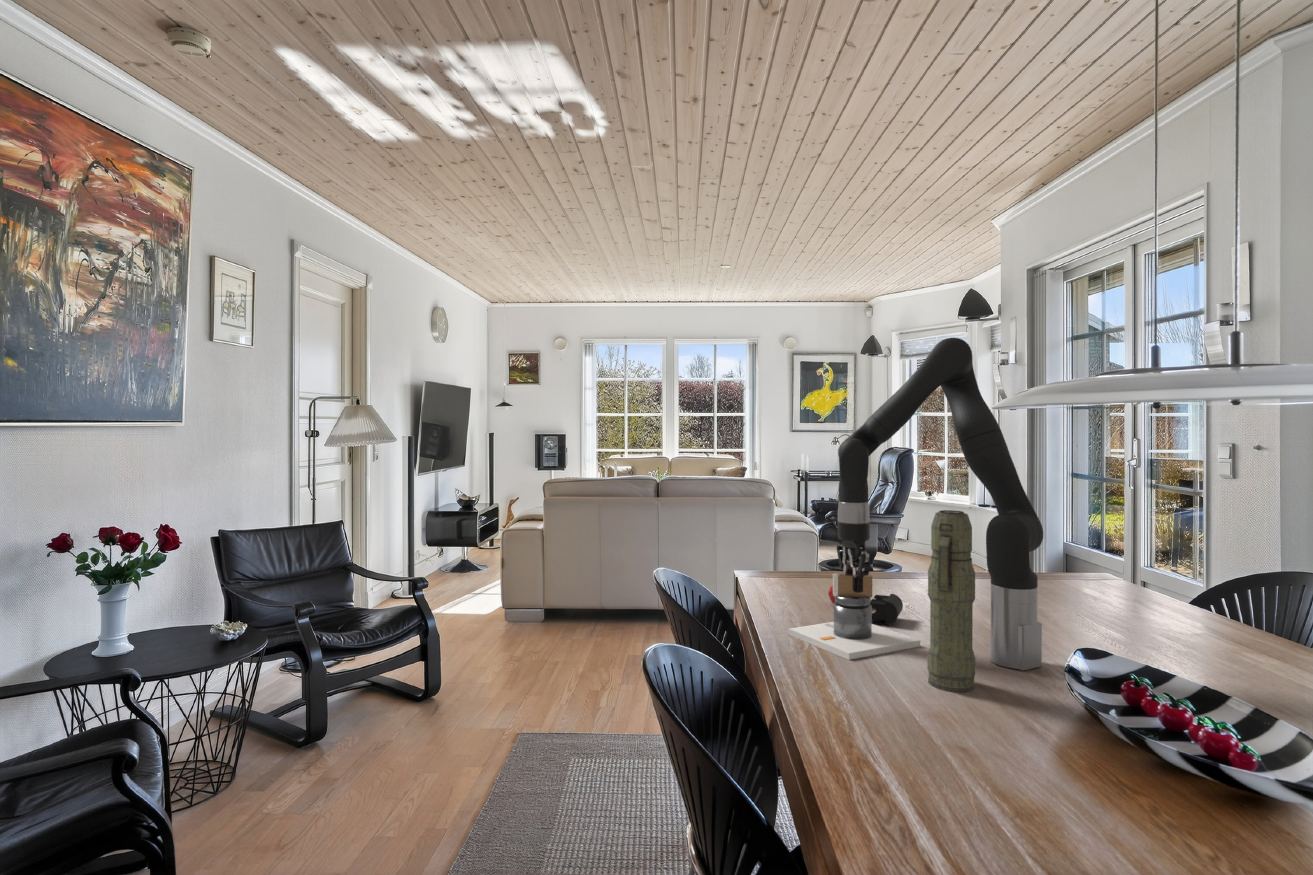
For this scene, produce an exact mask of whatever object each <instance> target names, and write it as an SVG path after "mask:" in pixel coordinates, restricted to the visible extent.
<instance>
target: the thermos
mask: <svg viewBox="0 0 1313 875" xmlns="http://www.w3.org/2000/svg"><path fill="white" fill-rule="evenodd" d="M930 529H931V530H930V533H931V535H930V536H931V540H930V543H931V544H930V546H931V548H930V549H931V552H932V554H931V557H930V558H931V559H930V564H929V566H928V569H927V596H928V598H929V600H930V603H929V604H930V606H929V607H930V609H929V610H930V611H929V613H930V615H929V617H930V618H929V619H930V621H929V622H930V626H929V627H930V628H929V629H930V630H929V632H930V633H929V634H930V636H929V638H930V639H929V641H930V644H929V645H930V647H929V649H928V652H927V654H926V656H927V657H926V658H927V660H926V661H927V662H926V665H927V667H926V668H927V671H928V678H927V680H928V684H929V685H930V686H932V687H934V688H936V689H938V690H943V691H946V692H952V693H953V692H955V693H966V692H972V691H973V690H974V689H975V676H976V657H975V656H976V655H975V651H974V649H973V624H974V623H973V622H974V621H973V613H974V612H973V605H974V604H973V603H975V600H976V572H975V568H974V566H973V558H972V552H973V526H972V523H971V519H970V517H969V514H968V513H966V512H964V511H963V510H954V509H953V510H951V509H948V510H946V509H945V510H938V512H935V514H934V517H933V519H932V523H931V527H930Z"/></svg>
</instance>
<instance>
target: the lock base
mask: <svg viewBox="0 0 1313 875" xmlns="http://www.w3.org/2000/svg"><path fill="white" fill-rule="evenodd" d="M872 613H873V609H872V606H871V605H870V606H869V607H865V608H848V607H842V606H839V605H836V604H835V603H834V604H833V621H829V622H823V623H817V624H812V625H806V626H799V627H798V626H797V627H792V628H788V636H791V637H794V638H795V639H797V640H800V641H802V642H805V643H807V644H809V645H812V646H815V647H817V648H819V649H820V650H821V649H822V650H823V651H826V652H829V653H832V654H833V655H836V656H838V657H841V658H844V659H845V660H847V661H851V660H856V659H861V658H866V657H872V656H878V655H883V654H888V653H893V652H898V651H899V652H900V651H902V650H903V651H904V650H907V649H914V648H920V647H921V640H920V639H917V638H916V637H912V636H909V635H906V634H903V633H900V632H897V631H895V630H891V629H888V628H886V627H884V626H880V625H874V624H872Z"/></svg>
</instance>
